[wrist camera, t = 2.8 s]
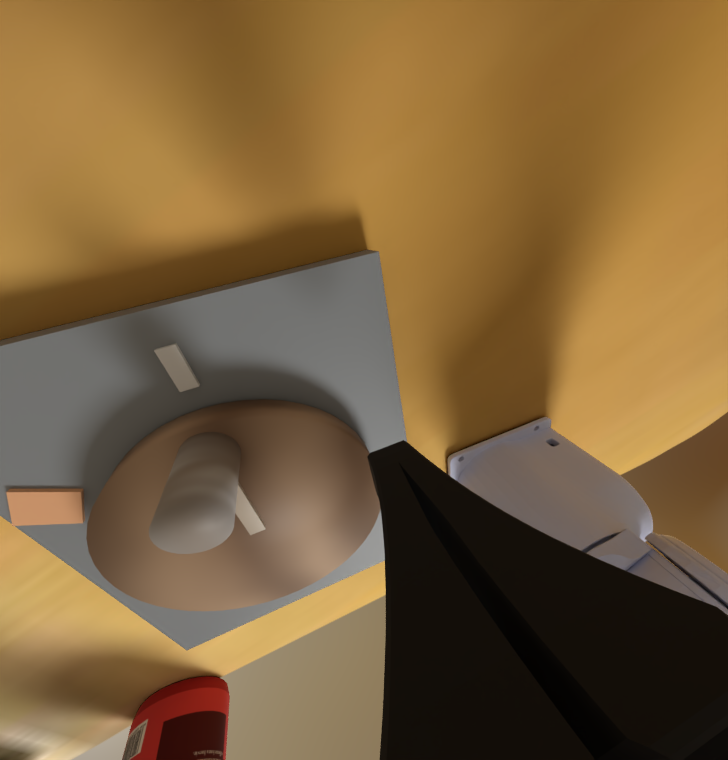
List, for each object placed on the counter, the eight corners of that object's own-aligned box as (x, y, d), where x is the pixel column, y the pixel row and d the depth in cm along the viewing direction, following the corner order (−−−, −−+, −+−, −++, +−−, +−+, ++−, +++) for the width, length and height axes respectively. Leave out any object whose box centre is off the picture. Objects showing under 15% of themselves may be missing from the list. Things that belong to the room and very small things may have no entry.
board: (367, 249, 14) (380, 251, 12) (413, 527, 25) (422, 545, 24) (-121, 370, 10) (-183, 392, 9) (191, 626, 22) (186, 653, 21)
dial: (348, 362, 14) (386, 420, 10) (388, 527, 21) (420, 603, 17) (21, 465, 12) (-123, 605, 7) (191, 613, 19) (170, 727, 14)
